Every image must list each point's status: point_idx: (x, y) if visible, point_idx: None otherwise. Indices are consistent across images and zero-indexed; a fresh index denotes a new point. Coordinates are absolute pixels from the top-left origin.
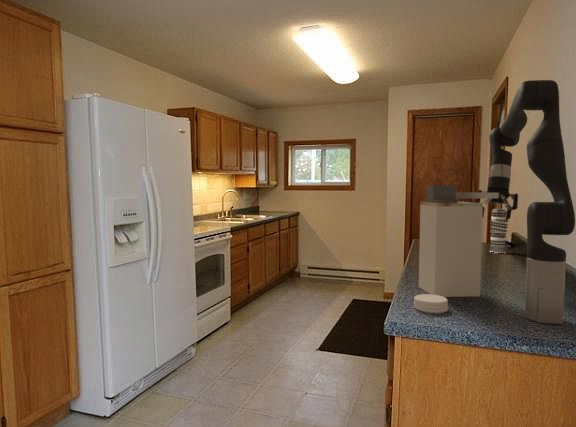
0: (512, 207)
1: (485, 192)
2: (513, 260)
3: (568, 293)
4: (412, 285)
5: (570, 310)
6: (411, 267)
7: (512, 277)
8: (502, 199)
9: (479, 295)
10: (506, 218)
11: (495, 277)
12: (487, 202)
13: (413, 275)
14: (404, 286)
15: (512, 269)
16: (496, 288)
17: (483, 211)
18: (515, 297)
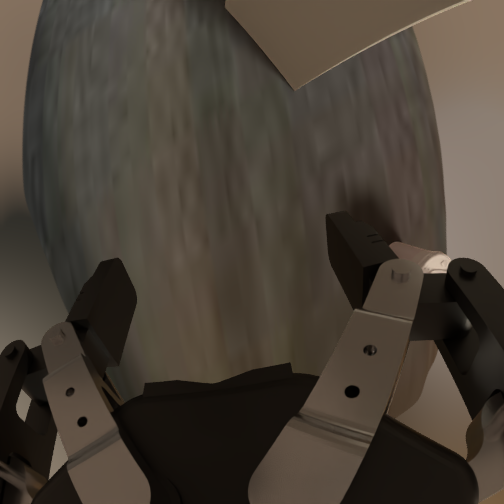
0: (40, 361)
1: (475, 487)
2: None
3: (28, 187)
4: (398, 49)
5: (38, 23)
6: None
7: (171, 310)
8: (109, 418)
9: (225, 6)
10: (114, 258)
11: (215, 281)
12: (365, 311)
13: (425, 170)
14: (408, 34)
15: None
16: (191, 119)
17: (350, 235)
18: (136, 46)
